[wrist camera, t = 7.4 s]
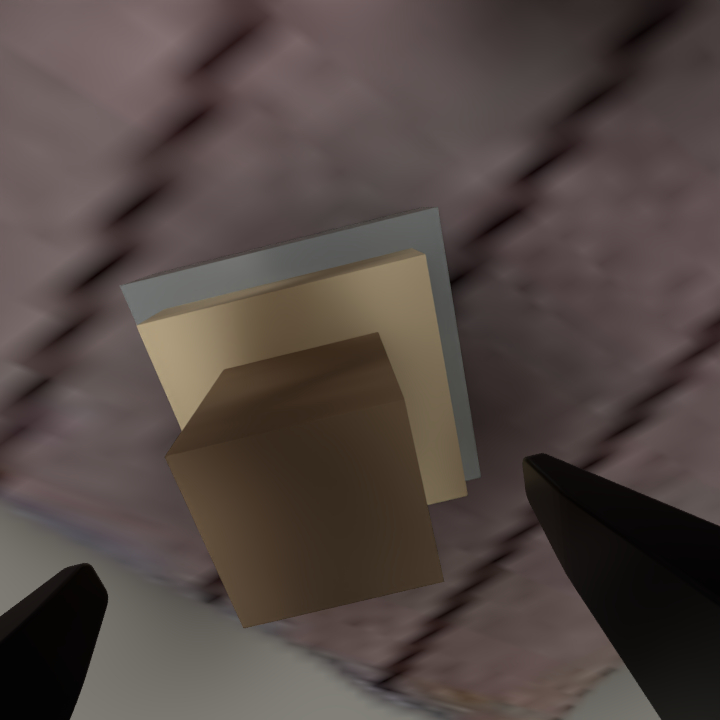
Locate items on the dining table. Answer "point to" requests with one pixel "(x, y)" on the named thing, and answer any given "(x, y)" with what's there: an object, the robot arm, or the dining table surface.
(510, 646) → the dining table surface
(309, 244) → the slate slab
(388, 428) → the walnut cube
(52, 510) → the dining table surface
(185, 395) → the oak block
